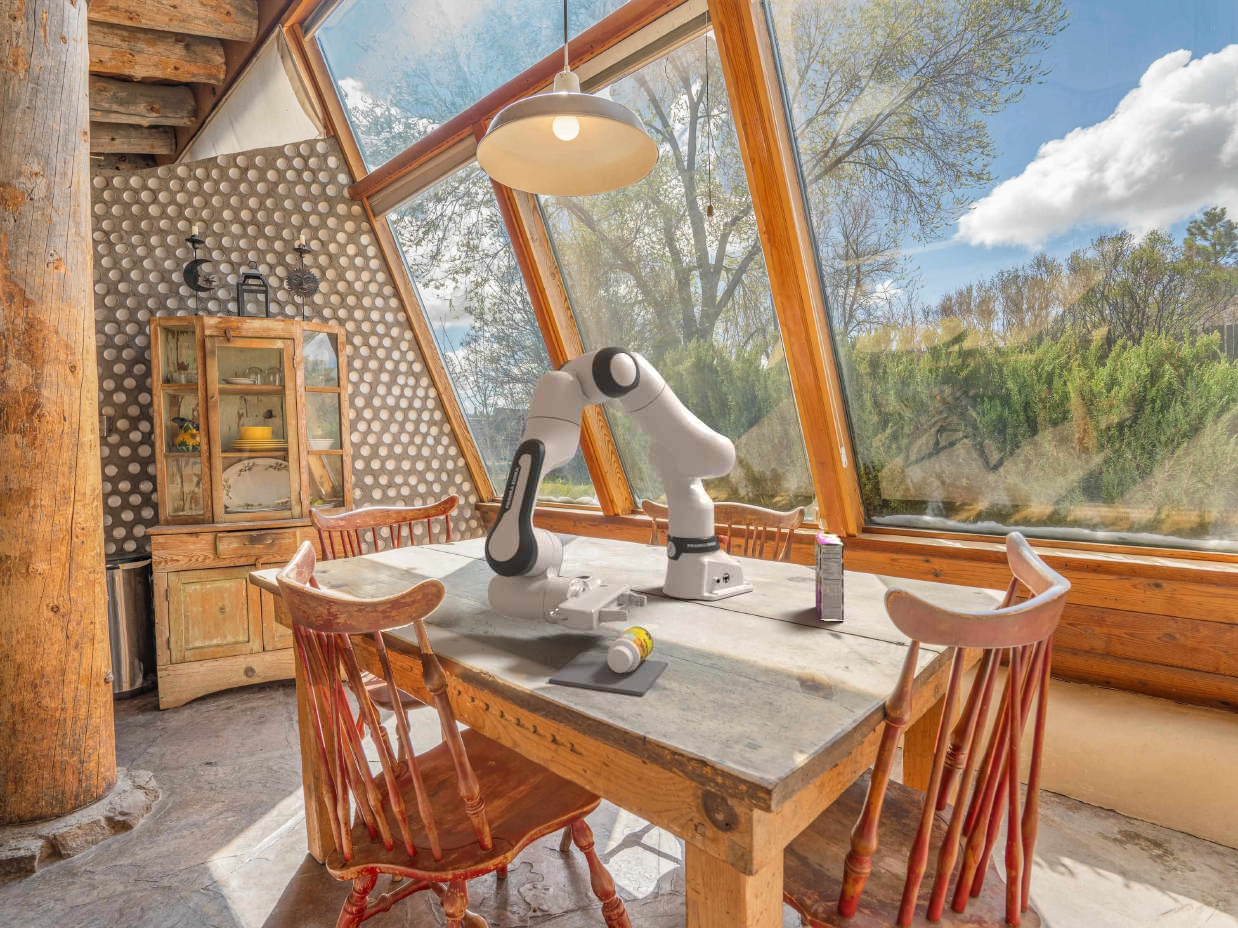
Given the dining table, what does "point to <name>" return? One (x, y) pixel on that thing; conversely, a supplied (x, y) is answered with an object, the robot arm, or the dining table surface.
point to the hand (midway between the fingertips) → (637, 608)
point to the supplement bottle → (630, 649)
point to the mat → (608, 674)
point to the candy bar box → (829, 576)
